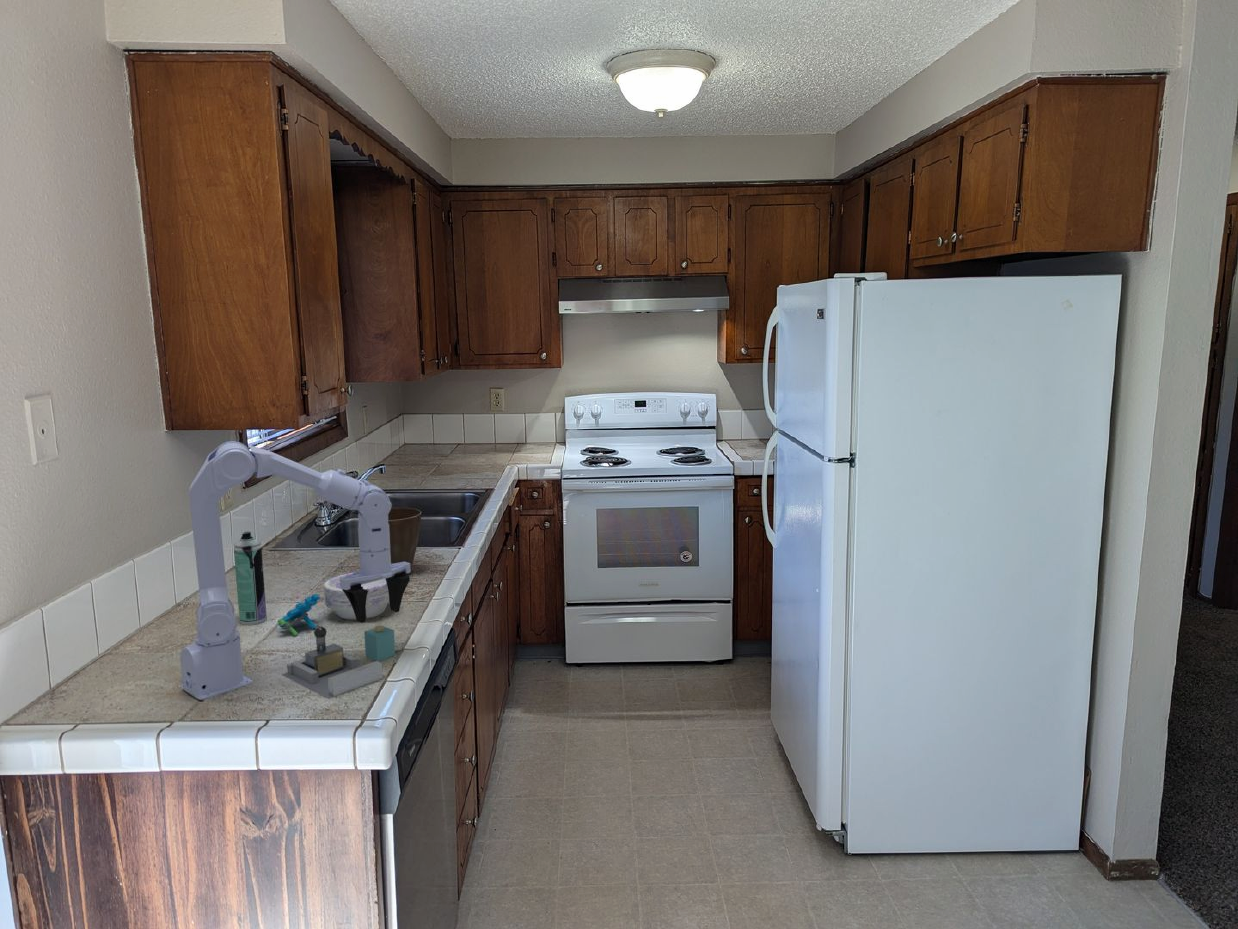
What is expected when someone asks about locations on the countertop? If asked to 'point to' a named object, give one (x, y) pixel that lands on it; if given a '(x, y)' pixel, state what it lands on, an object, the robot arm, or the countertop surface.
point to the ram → (324, 655)
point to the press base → (335, 676)
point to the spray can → (250, 580)
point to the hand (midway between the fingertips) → (378, 616)
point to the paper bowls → (342, 605)
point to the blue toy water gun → (299, 614)
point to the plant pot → (403, 534)
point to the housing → (379, 643)
